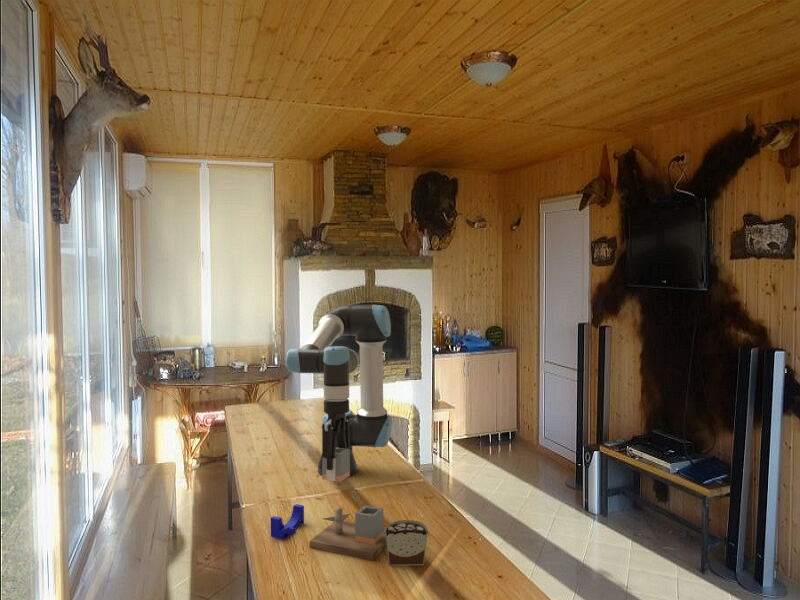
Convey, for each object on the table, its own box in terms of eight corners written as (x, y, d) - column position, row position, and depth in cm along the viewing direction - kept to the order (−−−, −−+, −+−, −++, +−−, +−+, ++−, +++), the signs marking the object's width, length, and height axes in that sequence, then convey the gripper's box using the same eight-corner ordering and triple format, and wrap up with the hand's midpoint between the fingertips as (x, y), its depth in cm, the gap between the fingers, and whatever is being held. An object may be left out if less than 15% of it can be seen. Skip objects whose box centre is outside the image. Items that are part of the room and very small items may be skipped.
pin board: (337, 525, 185) (336, 497, 185) (396, 536, 177) (396, 507, 177) (309, 547, 170) (309, 516, 170) (373, 560, 162) (373, 528, 162)
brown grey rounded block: (427, 554, 166) (427, 518, 166) (429, 565, 160) (429, 528, 160) (383, 554, 166) (383, 519, 165) (383, 565, 160) (383, 529, 159)
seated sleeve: (364, 532, 176) (364, 505, 175) (383, 535, 173) (383, 508, 173) (355, 540, 170) (355, 513, 170) (374, 544, 168) (374, 516, 167)
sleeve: (331, 473, 181) (331, 446, 181) (349, 475, 179) (349, 449, 179) (322, 479, 175) (322, 452, 175) (340, 481, 173) (340, 454, 173)
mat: (326, 504, 202) (326, 502, 202) (357, 509, 198) (357, 508, 198) (307, 517, 191) (307, 516, 191) (340, 523, 187) (340, 522, 187)
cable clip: (282, 540, 175) (282, 520, 175) (270, 537, 177) (270, 517, 177) (307, 525, 186) (307, 506, 185) (296, 522, 188) (296, 504, 187)
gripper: (339, 392, 187) (339, 466, 187) (309, 404, 169) (309, 485, 170) (361, 394, 184) (361, 468, 185) (332, 405, 166) (333, 488, 167)
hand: (336, 476), depth 177 cm, fingers closed on sleeve, 6 cm apart
